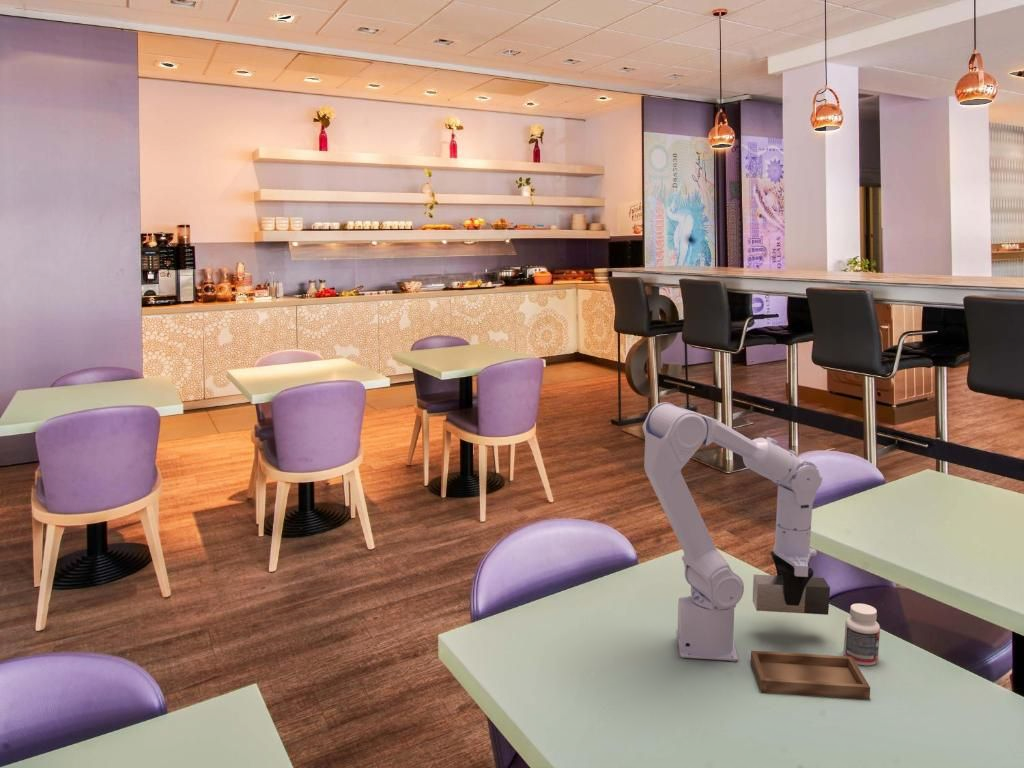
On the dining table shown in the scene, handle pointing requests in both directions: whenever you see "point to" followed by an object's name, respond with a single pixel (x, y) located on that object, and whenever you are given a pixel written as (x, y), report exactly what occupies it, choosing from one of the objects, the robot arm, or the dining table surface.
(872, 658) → the pill bottle
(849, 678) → the walnut tray
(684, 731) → the dining table surface
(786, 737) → the dining table surface
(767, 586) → the low gray brick
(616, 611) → the dining table surface
